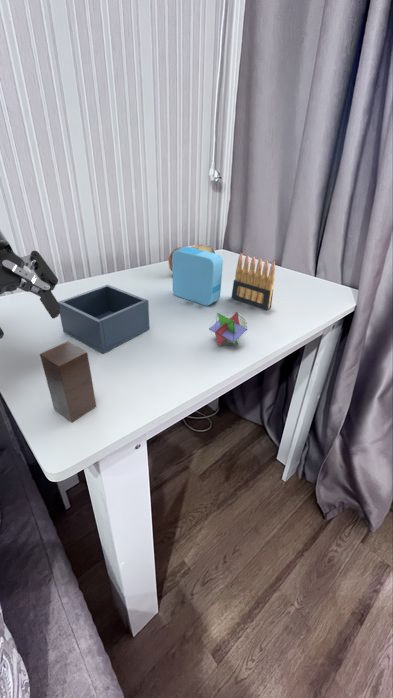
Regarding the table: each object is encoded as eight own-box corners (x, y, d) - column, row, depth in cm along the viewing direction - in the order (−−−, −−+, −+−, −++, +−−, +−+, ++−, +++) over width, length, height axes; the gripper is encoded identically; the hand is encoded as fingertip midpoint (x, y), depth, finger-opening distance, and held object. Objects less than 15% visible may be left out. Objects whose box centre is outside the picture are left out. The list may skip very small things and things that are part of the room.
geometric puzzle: (222, 349, 61) (242, 311, 61) (196, 335, 66) (215, 299, 65) (239, 357, 67) (258, 322, 67) (215, 343, 71) (232, 310, 71)
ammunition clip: (271, 308, 83) (279, 260, 76) (267, 310, 81) (275, 262, 75) (234, 296, 88) (239, 251, 81) (231, 298, 87) (235, 252, 80)
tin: (171, 279, 97) (171, 250, 92) (167, 275, 99) (166, 247, 94) (215, 272, 103) (217, 244, 98) (210, 268, 105) (211, 242, 101)
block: (53, 409, 50) (39, 353, 44) (78, 394, 53) (68, 340, 47) (71, 422, 48) (58, 366, 42) (96, 406, 51) (87, 352, 45)
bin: (102, 354, 63) (98, 322, 59) (63, 332, 69) (57, 302, 65) (149, 329, 71) (148, 300, 68) (110, 311, 77) (107, 284, 74)
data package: (220, 301, 85) (224, 255, 78) (210, 307, 81) (213, 259, 75) (182, 289, 90) (183, 245, 84) (172, 294, 87) (172, 249, 80)
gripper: (-94, 220, 40) (-18, 335, 40) (21, 206, 49) (80, 298, 50) (-91, 255, 45) (-25, 355, 46) (12, 236, 55) (65, 319, 55)
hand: (30, 325), depth 48 cm, fingers open, 8 cm apart
